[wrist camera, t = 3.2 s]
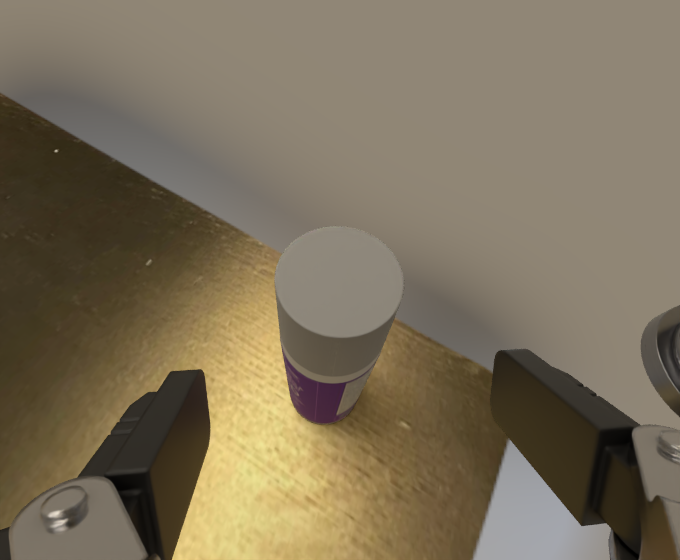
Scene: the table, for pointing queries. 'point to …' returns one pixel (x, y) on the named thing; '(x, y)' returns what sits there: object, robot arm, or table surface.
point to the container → (334, 316)
